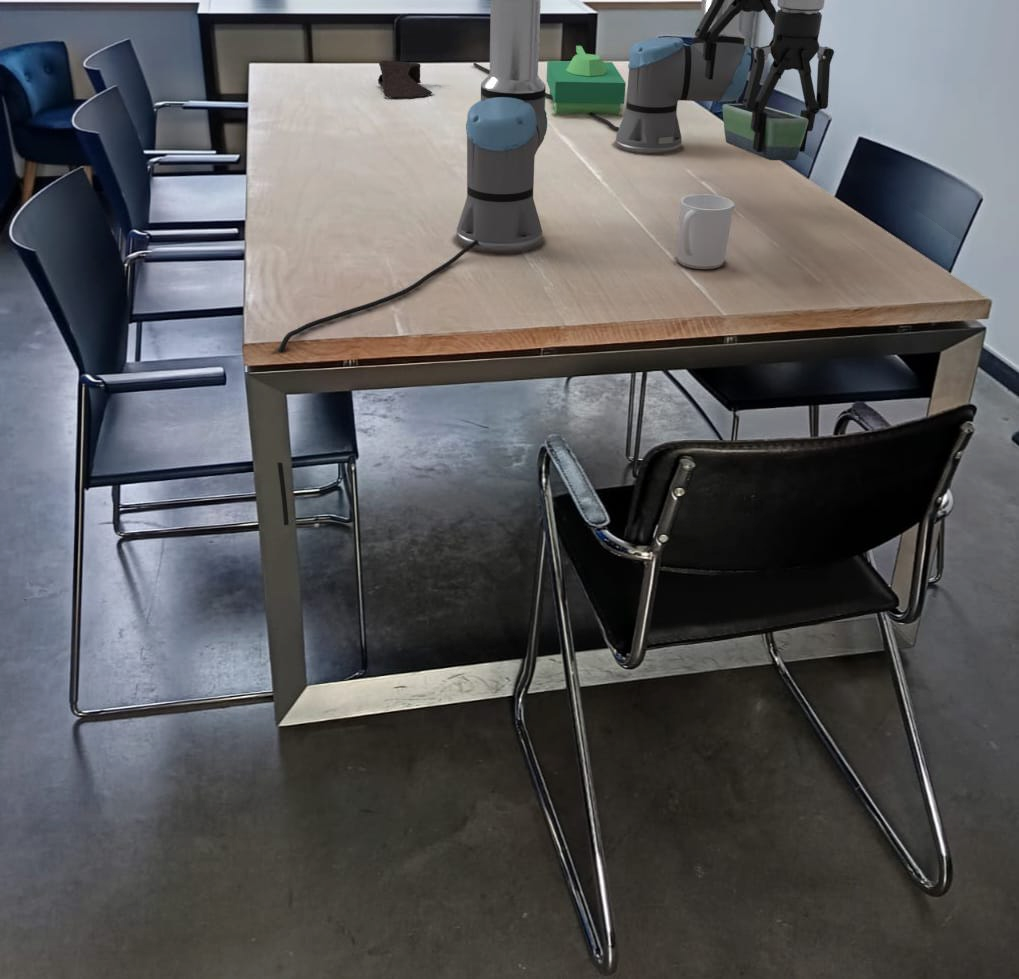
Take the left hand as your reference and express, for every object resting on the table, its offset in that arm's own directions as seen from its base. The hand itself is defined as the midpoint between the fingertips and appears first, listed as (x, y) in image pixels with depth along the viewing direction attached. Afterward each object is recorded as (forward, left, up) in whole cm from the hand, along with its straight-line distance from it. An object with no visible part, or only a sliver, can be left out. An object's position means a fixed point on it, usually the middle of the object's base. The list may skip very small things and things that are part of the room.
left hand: (778, 149), depth 194 cm
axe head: (+106, +90, -15) cm, 140 cm away
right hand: (+24, +6, +7) cm, 26 cm away
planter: (+9, +2, -3) cm, 10 cm away
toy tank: (+103, +41, -15) cm, 112 cm away
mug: (-18, +13, -15) cm, 27 cm away
